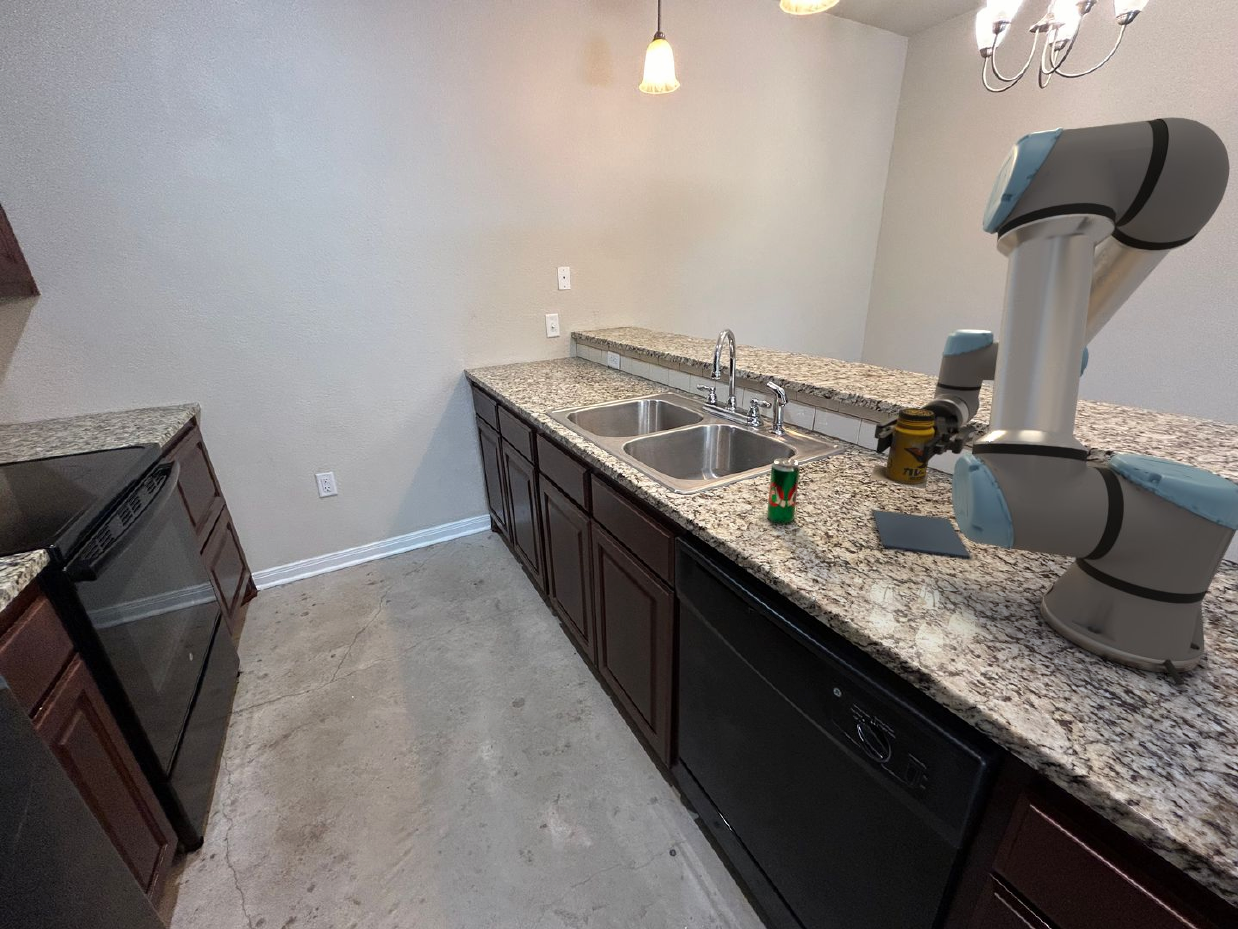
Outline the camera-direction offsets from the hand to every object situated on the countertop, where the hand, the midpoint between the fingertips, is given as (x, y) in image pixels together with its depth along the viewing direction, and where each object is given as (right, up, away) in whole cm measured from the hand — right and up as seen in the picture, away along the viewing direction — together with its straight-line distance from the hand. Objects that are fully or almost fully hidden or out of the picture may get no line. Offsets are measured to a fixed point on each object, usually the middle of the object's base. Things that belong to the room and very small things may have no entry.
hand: (901, 449), depth 81 cm
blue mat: (+9, -15, +10) cm, 20 cm away
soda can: (-14, -13, +17) cm, 26 cm away
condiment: (+3, -5, +6) cm, 9 cm away
